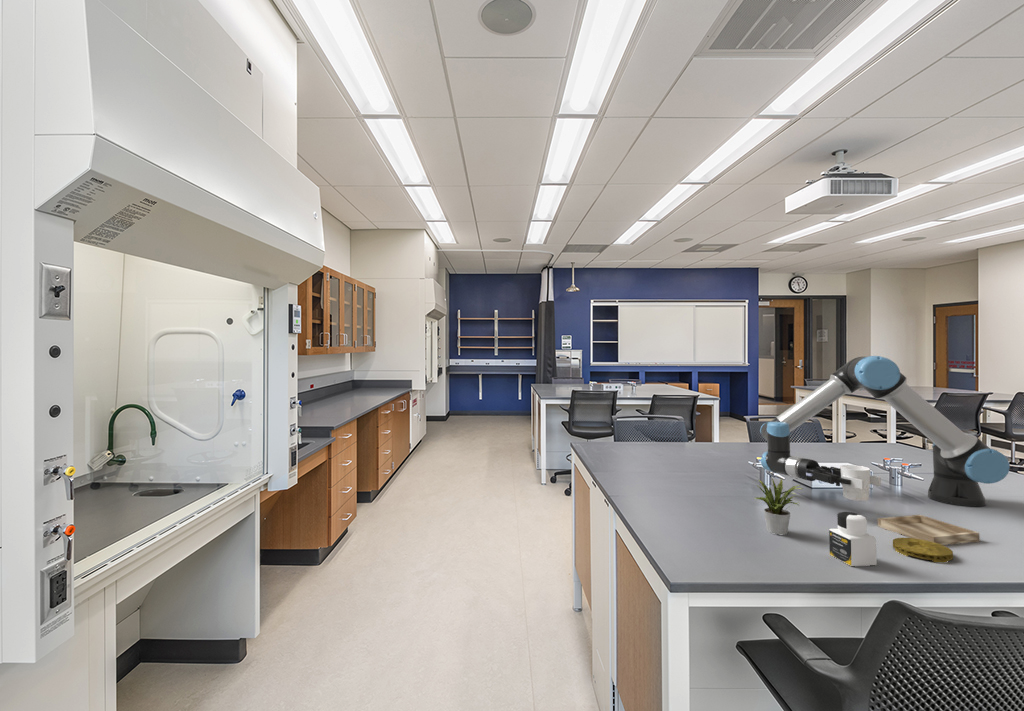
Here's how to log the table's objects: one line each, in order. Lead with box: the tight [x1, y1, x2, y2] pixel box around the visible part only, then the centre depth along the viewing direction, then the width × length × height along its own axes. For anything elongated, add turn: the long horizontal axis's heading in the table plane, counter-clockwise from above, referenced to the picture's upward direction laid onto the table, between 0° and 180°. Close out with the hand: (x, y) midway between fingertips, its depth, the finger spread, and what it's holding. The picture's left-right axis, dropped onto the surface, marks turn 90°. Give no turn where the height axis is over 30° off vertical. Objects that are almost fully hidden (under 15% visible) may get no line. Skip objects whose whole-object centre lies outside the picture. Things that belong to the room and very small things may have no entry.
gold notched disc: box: [892, 537, 954, 563], centre depth 123 cm, size 12×12×2 cm
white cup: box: [840, 464, 871, 502], centre depth 150 cm, size 8×8×10 cm
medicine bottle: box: [828, 511, 878, 567], centre depth 119 cm, size 7×7×12 cm
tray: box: [877, 514, 980, 546], centre depth 137 cm, size 16×16×2 cm
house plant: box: [754, 478, 803, 535], centre depth 138 cm, size 14×14×16 cm
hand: (871, 483), depth 146 cm, fingers closed on white cup, 8 cm apart
